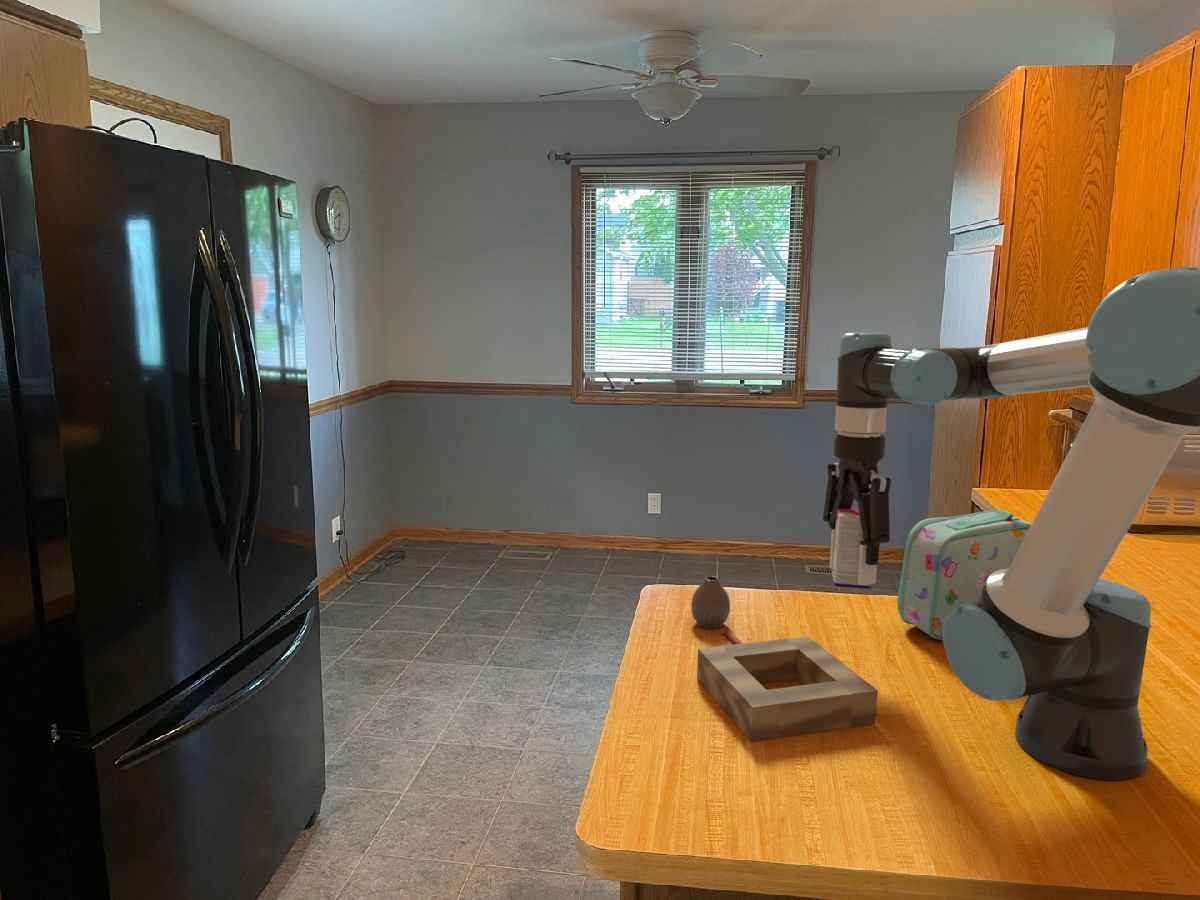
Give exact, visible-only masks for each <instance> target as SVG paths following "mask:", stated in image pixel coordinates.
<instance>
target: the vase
mask: <svg viewBox="0 0 1200 900" xmlns="http://www.w3.org/2000/svg"><path fill="white" fill-rule="evenodd" d="M690 606H691V614H692V617H693V619H694V620H695V623H696V624H698V625H699V626H700V627H701V628H704V629H711V630H712V629H718V628H720V627H721V626H723V625H724V624H725V623H726V622H727V620H728V618H729V615H730V612H731V602H730V597H729V595H728V593H727V591H726V589H725V588H724V586H723V585H722V584H721V582H720V579H719V577H716V576H713V575H710V576H708V575H707V576H705V578H704V580H703V581H702V583H701V584H700V585H699V586H698V587H697V589H695V591H694V593H693V595H692V598H691V605H690Z"/></svg>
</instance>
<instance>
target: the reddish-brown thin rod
mask: <svg viewBox="0 0 1200 900" xmlns="http://www.w3.org/2000/svg"><path fill="white" fill-rule="evenodd" d="M723 634H724V635H725V636H726V637H727V638H728V639H729V640H730V641H731V642H732V643H734V644H743V642H742V640H740V639H739V638H738V637H737V636H736V635H735V634H734V633H733V632H731V631H730V629H728V628H724V630H723Z"/></svg>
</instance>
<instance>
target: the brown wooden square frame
mask: <svg viewBox="0 0 1200 900" xmlns="http://www.w3.org/2000/svg"><path fill="white" fill-rule="evenodd" d="M742 643H743V642H742ZM696 666H697V667H696V670H697V671H696V679H697V681H699V683H700V684H701V685H702V686H703V688H704V689H705V690H706V691H707V692H708V693H709V695H710V696H711V697H712V698H713V699H714V701H716V703H717V704H718V705H719V707H720V708H721V709H722V710H723V711H724V712H725V713H726V714H727V715H728V717H729V718H730V719H731V720H732V722H733V723H734V724H735V725H736V726H737V727H738V728H739V730H740V732H742V733H743V734H744V735H745V737H746V738H747V739H748V741H750V742H751V743H752V742H760V741H765V740H773V739H780V738H787V737H793V736H800V735H806V734H814V733H820V732H821V733H822V732H827V731H828V732H829V731H834V730H841V729H848V728H855V727H862V726H868V725H875V724H876V719H877V705H878V694H879V693H878V691H879V690H878V689H877V688H875V687H874V686H873V685H872V684H870V683H868V681H867V680H866V679H864V678H862V677H861V676H860V675H858V674H857V672H855V671H853V670H852V669H851V668H850V667H848V666H847V665H846V664H845V663H843V662H842V661H841V660H839V659H838V658H837V657H835V655H833V654H832V653H831V652H829V651H828V650H827V649H826V648H824V647H823V646H821V645H820V644H819V642H818V643H817V642H816V641H815V640H814V639H812V638H811V637H810V636H798V637H789V638H782V639H772V640H764V641H754V642H746V643H745V642H744V643H743V644H735V643H734V644H727V645H718V646H717V645H716V646H708V647H700V648H697V665H696ZM792 680H794V681H795V680H797V681H798V682H799V683H801V685H794V686H787V687H779V688H772V689H766V688H765V687H764V686H763V684H770V683H775V682H785V681H792Z"/></svg>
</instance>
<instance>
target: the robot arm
mask: <svg viewBox="0 0 1200 900" xmlns="http://www.w3.org/2000/svg"><path fill="white" fill-rule="evenodd" d="M838 350H839V352H838V356H837V379H836V380H837V381H836V388H837V389H836V405H835V406H836V407H835V417H834V418H835V421H834V429H835V430H836V431H837V433H836V434H835V435H834V440H833V441H834V443H833V455H834V457H836V458H837V459H839V462H836V463H835V462H834V463H828V464H827V477H828V478H827V484H826V485H827V486H826V491H825V492H826V493H825V501H824V508H823V515H822V516H823V517H822V518H823V519H822V520H823V522H827V523H828V527H829V528H830V540H829V541H830V542H829V543H830V549H829V551H830V553H829V555H830V556H829V569H831V570H832V567H833V553H834V540H835V526H836V513H837V509H852V507H853V503H854V501H856V502H857V506H858V510H859V514H860V520H861V526H862V532H863V538H864V541H860V553H859V570H858V584H860V585H866V584H872V585H875V584H877V573H878V572H877V569H878V563H879V555H880V553H879V552H880V545H881V544H886V543H889V542H890V541H891V539H890V537H891V536H890V532H891V531H890V497H889V495H890V494H889V493H890V488H891V483H892V480H891V478H890V477H882V476H881V475H880V474H879V469H878V468H879V467H878V463H879V462H880V461H882V460H883V459H884V458H885V453H886V452H885V451H886V437H885V435H883V434H884V433H885V432H886V427H887V409H888V406H889V405H888V404H889V403H888V399H889V400H894V401H899V402H906V403H909V404H911V405H912V404H913V405H917V406H918V405H936V404H939V403H942V402H943V401H955V400H978V399H979V400H995V399H1002V398H1007V397H1010V396H1012V395H1013V396H1015V395H1022V394H1023V395H1026V394H1034V393H1043V392H1044V393H1045V392H1051V391H1054V392H1055V391H1062V390H1068V389H1069V390H1071V389H1080V388H1089V389H1090V390H1091V393H1092V394H1093V397H1094V402H1093V404H1092V406H1091V408H1090V409H1089V412H1088V414H1087V416H1086V418H1085V419H1084V421H1083V423H1082V424H1081V427H1080V430H1079V431H1078V434H1077V435H1076V436H1075V437H1076V438H1075V439H1074V441H1073V443H1072V445H1071V446H1070V449H1069V450H1068V452H1067V454H1066V456H1065V458H1064V461H1063V463H1062V464H1061V466H1060V468H1059V470H1058V472H1057V474H1056V475H1055V478H1054V479H1053V482H1052V484H1051V485H1050V487H1049V490H1048V491H1047V493H1046V496H1045V497H1044V499H1043V501H1042V502H1041V505H1040V507H1039V509H1038V511H1037V513H1036V515H1035V516H1034V519H1033V520H1032V522H1031V523H1032V524H1031V526H1030V528H1029V530H1028V532H1027V534H1026V536H1025V538H1024V540H1023V542H1022V544H1021V546H1020V548H1019V550H1018V552H1017V554H1016V555H1015V557H1014V559H1013V561H1012V563H1011V565H1010V567H1009V568H1008V569H1001V570H997V571H995V572H993V573H992V574H991V575H990V576H989V578H988V579H987V581H986V583H985V585H984V587H983V589H982V591H981V593H980V595H979V597H978V599H977V600H976V601H975V602H974V603H973V604H968V603H967V604H962V605H960V606H959V607H956V608H954V609H953V610H952V611H951V612H950V613H949V614H948V615H947V617H946V619H945V622H944V627H943V640H942V642H943V647H944V650H945V653H946V657H947V660H948V662H949V665H950V667H951V669H952V671H953V673H954V674H955V676H956V677H957V678H958V680H959V681H960V682H961V683H962V684H963V685H964V686H965V687H966V689H968V690H969V691H970V692H971V693H973V694H975V695H976V696H978V697H980V698H981V699H985V700H989V701H994V702H995V701H1004V700H1009V701H1016V700H1018V699H1021V698H1025V697H1027V698H1026V700H1025V702H1024V704H1023V707H1022V708H1021V710H1020V711H1019V713H1018V715H1017V717H1016V721H1015V728H1014V729H1015V730H1014V731H1015V732H1014V737H1015V739H1016V742H1017V743H1018V745H1020V747H1021V748H1022V749H1023V750H1024V751H1025V752H1027V753H1028V754H1029V755H1030V756H1032V757H1034V758H1035V759H1037V760H1039V761H1040V762H1042V763H1044V764H1046V765H1048V766H1051V767H1052V768H1054V769H1057V770H1060V771H1063V772H1066V773H1069V774H1072V775H1076V776H1080V777H1083V778H1084V777H1085V778H1089V779H1096V780H1103V781H1122V780H1123V781H1125V780H1129V779H1130V780H1131V779H1134V778H1137V777H1139V776H1140V775H1143V772H1144V771H1145V770H1146V767H1147V761H1148V754H1149V751H1148V745H1147V741H1146V739H1145V738H1144V734H1143V727H1142V722H1141V721H1142V720H1141V717H1140V711H1139V708H1138V707H1139V698H1140V693H1141V692H1140V691H1141V686H1142V679H1143V673H1144V672H1143V671H1144V667H1145V659H1146V653H1147V647H1148V646H1147V645H1148V639H1149V632H1150V630H1151V629H1152V625H1151V614H1152V613H1151V611H1152V610H1151V609H1152V607H1151V602H1150V601H1149V599H1148V598H1147V597H1146V596H1145V595H1144V594H1142V593H1141V592H1140V591H1138V590H1135V589H1134V588H1131V587H1129V586H1126V585H1123V584H1121V583H1117V582H1115V581H1111V580H1107V579H1103V578H1101V576H1102V574H1103V573H1104V572H1105V570H1106V568H1107V566H1108V564H1109V563H1110V561H1111V560H1112V557H1113V556H1114V555H1115V553H1116V551H1117V549H1118V548H1119V546H1120V544H1121V542H1123V539H1124V538H1125V536H1126V534H1127V533H1128V531H1129V529H1130V527H1131V526H1132V524H1133V522H1134V520H1135V519H1136V517H1137V516H1138V514H1139V512H1140V510H1141V509H1142V508H1143V506H1144V505H1145V503H1146V501H1147V499H1148V498H1149V496H1150V494H1151V492H1152V490H1153V489H1154V487H1155V486H1156V484H1157V482H1158V481H1159V479H1160V478H1161V475H1162V474H1163V472H1164V471H1165V469H1166V467H1167V465H1168V464H1169V462H1170V461H1171V459H1172V457H1173V455H1174V453H1175V452H1176V450H1177V449H1178V447H1179V445H1180V444H1181V443H1182V440H1183V439H1184V437H1185V435H1187V434H1188V433H1192V432H1196V431H1200V268H1198V267H1194V266H1193V267H1191V266H1190V267H1189V266H1185V267H1183V266H1182V267H1172V268H1168V269H1161V270H1153V271H1151V270H1150V271H1147V272H1145V273H1140V274H1137V275H1136V276H1134V277H1131V278H1128V279H1127V280H1124V281H1123V282H1122V283H1120V284H1119V285H1117V286H1116V287H1115V288H1113V289H1112V290H1111V291H1110V292H1109V293H1108V294H1107V295H1106V296H1105V297H1104V298H1102V300H1101V302H1100V303H1099V304H1098V306H1097V307H1096V308H1095V311H1094V312H1093V314H1092V315H1091V319H1090V320H1089V323H1088V326H1087V327H1081V328H1077V329H1071V330H1065V331H1060V332H1059V331H1058V332H1055V333H1054V332H1053V333H1050V334H1043V335H1039V336H1033V337H1027V338H1022V339H1016V340H1011V341H1006V342H1001V343H993V344H989V345H984V346H977V347H974V346H973V347H960V348H959V347H942V348H940V347H939V348H937V347H934V348H933V347H928V348H927V347H926V348H923V347H922V348H919V347H918V348H912V347H911V348H910V347H909V348H906V347H893V344H892V337H891V335H890V334H889V333H887V332H885V333H884V332H846V333H844V334H842V336H841V338H840V341H839V349H838ZM870 535H871V536H870Z"/></svg>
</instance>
